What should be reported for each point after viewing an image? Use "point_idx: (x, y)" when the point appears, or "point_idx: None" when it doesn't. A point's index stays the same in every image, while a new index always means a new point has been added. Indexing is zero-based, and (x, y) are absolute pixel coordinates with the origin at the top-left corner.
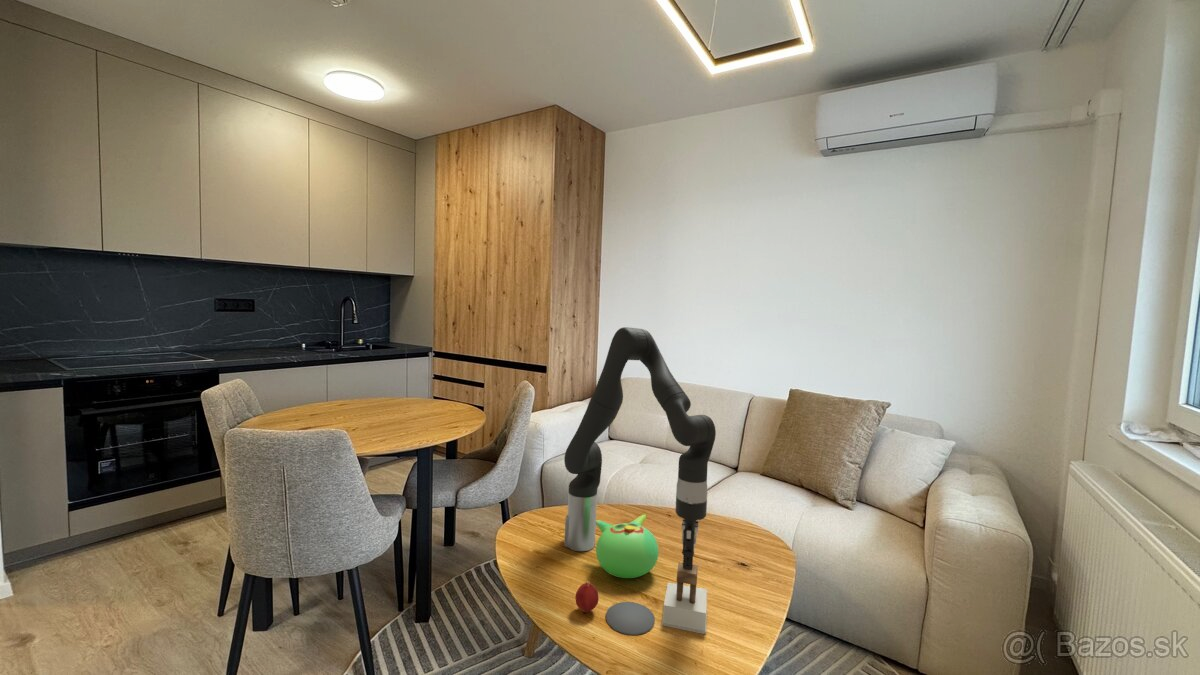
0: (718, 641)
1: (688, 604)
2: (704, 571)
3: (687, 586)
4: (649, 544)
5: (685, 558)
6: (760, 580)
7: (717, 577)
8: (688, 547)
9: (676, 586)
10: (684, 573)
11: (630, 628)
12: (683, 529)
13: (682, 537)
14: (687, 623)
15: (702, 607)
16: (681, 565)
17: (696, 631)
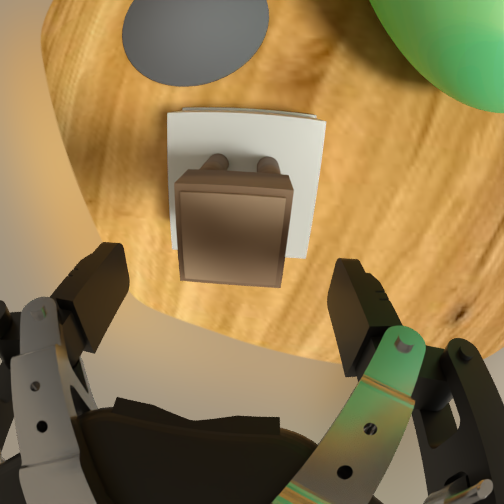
0: (171, 250)
1: None
2: (453, 238)
3: (312, 195)
4: (479, 57)
5: (55, 294)
6: None
7: (429, 266)
8: (342, 292)
9: (304, 153)
10: (176, 223)
11: (141, 33)
12: (35, 480)
13: (16, 392)
14: None
15: None
16: (251, 208)
17: None
